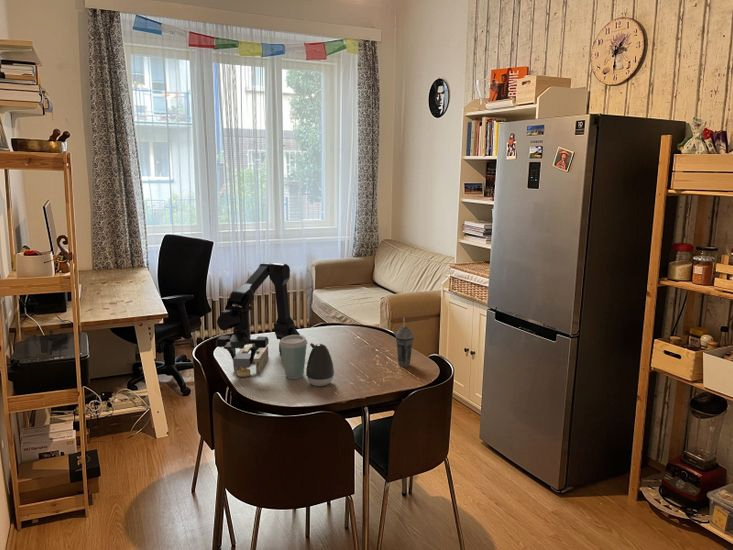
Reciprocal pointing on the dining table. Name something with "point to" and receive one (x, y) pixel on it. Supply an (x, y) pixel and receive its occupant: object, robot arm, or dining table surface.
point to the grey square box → (242, 364)
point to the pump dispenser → (319, 366)
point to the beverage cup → (404, 345)
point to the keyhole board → (260, 358)
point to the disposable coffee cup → (293, 355)
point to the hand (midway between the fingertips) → (243, 363)
